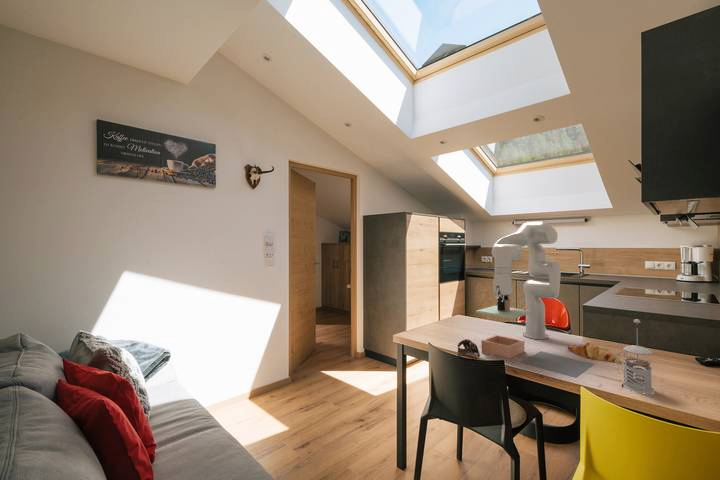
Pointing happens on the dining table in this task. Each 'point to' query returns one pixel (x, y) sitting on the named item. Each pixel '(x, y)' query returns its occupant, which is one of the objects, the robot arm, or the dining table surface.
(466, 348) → the brown napkin holder
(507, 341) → the shallow wooden crate
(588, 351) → the croissant
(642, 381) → the french press
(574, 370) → the mat
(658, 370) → the dining table surface
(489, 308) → the lid
